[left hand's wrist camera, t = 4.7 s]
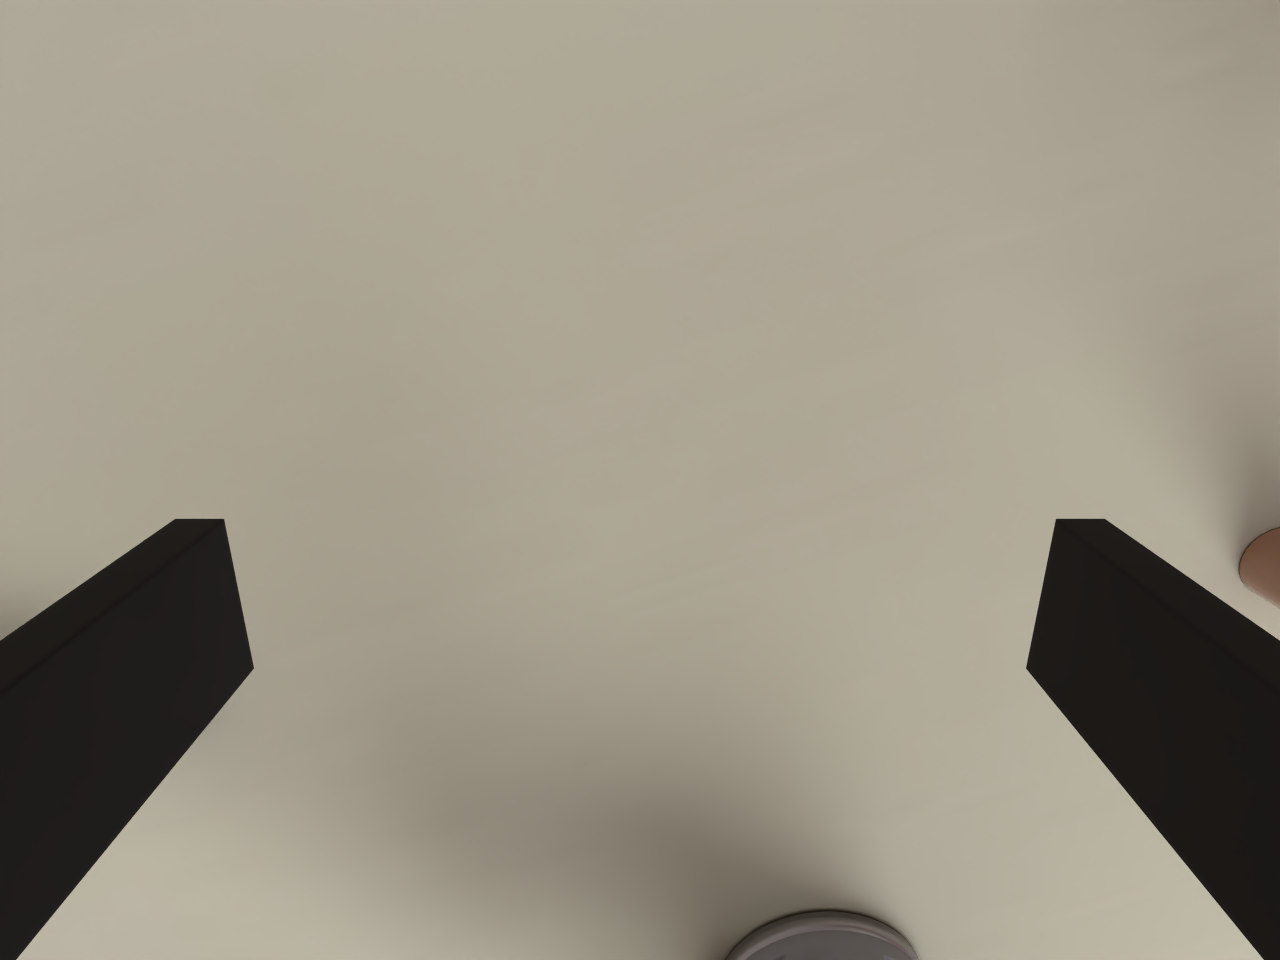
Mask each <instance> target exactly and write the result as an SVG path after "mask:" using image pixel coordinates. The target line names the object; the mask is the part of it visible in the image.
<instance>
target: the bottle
mask: <svg viewBox="0 0 1280 960" xmlns="http://www.w3.org/2000/svg"><path fill="white" fill-rule="evenodd" d="M1239 573H1240V577H1241V580H1242V582H1243V583H1244V585H1245V586H1246V587H1247V588H1248V589H1249V590H1251V591H1252V592H1254V593H1256V594H1257V595H1259V596H1260V597H1262V598H1263V599H1265V600H1266V601H1268V602H1269V603H1271V604H1273V605H1274V606H1276V607H1277V608H1279V609H1280V528H1278V529H1274V530H1271V531H1269V532H1267V533H1265V534H1263V535H1261V536H1260V537H1258V538H1257V539H1256V540H1255V541H1254V542H1252V543H1251V545H1250V546H1249V547H1248V548H1247V549H1246V551H1245V553H1244V554H1243V556H1242V559H1241V562H1240V567H1239Z"/></svg>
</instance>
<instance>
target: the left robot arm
mask: <svg viewBox="0 0 1280 960" xmlns="http://www.w3.org/2000/svg"><path fill="white" fill-rule="evenodd" d="M253 669H254V666H253V661H252V657H251V652H250V647H249V642H248V637H247V632H246V627H245V622H244V617H243V612H242V607H241V602H240V597H239V592H238V587H237V582H236V577H235V572H234V567H233V562H232V557H231V552H230V547H229V542H228V537H227V532H226V527H225V522H224V519H175V520H173V521H172V522H170V523H169V524H167V525H166V526H164V527H163V528H162V529H160V530H159V531H157V532H156V533H154V534H153V535H152V536H150V537H149V538H147V539H146V540H144V541H143V542H141V543H140V544H139V545H137V546H136V547H134V548H133V549H131V550H130V551H129V552H127V553H126V554H124V555H123V556H121V557H120V558H118V559H117V560H116V561H114V562H113V563H111V564H110V565H108V566H107V567H106V568H104V569H103V570H101V571H100V572H98V573H97V574H95V575H94V576H93V577H91V578H90V579H88V580H87V581H85V582H84V583H83V584H81V585H80V586H78V587H77V588H75V589H74V590H73V591H71V592H70V593H68V594H67V595H65V596H64V597H62V598H61V599H60V600H58V601H57V602H55V603H54V604H52V605H51V606H50V607H48V608H47V609H45V610H44V611H42V612H41V613H39V614H38V615H37V616H35V617H34V618H32V619H31V620H29V621H28V622H27V623H25V624H24V625H22V626H21V627H19V628H18V629H16V630H15V631H14V632H12V633H11V634H9V635H8V636H6V637H5V638H4V639H2V640H1V641H0V960H16V959H17V958H18V957H19V955H20V954H21V953H22V952H23V951H24V949H25V948H26V947H27V946H28V944H29V943H30V942H31V941H32V940H33V938H34V937H35V936H36V935H37V933H38V932H39V931H40V930H41V929H42V927H43V926H44V925H45V924H46V922H47V921H48V920H49V919H50V918H51V916H52V915H53V914H54V913H55V911H56V910H57V909H58V908H59V906H60V905H61V904H62V903H63V902H64V900H65V899H66V898H67V897H68V895H69V894H70V893H71V892H72V891H73V889H74V888H75V887H76V886H77V884H78V883H79V882H80V881H81V880H82V878H83V877H84V876H85V875H86V873H87V872H88V871H89V870H90V869H91V867H92V866H93V865H94V864H95V862H96V861H97V860H98V859H99V857H100V856H101V855H102V854H103V853H104V851H105V850H106V849H107V848H108V846H109V845H110V844H111V843H112V842H113V840H114V839H115V838H116V837H117V835H118V834H119V833H120V832H121V831H122V829H123V828H124V827H125V826H126V824H127V823H128V822H129V821H130V820H131V818H132V817H133V816H134V815H135V813H136V812H137V811H138V810H139V809H140V807H141V806H142V805H143V804H144V802H145V801H146V800H147V799H148V797H149V796H150V795H151V794H152V793H153V791H154V790H155V789H156V788H157V786H158V785H159V784H160V783H161V782H162V780H163V779H164V778H165V777H166V775H167V774H168V773H169V772H170V771H171V769H172V768H173V767H174V766H175V764H176V763H177V762H178V761H179V760H180V758H181V757H182V756H183V755H184V753H185V752H186V751H187V750H188V748H189V747H190V746H191V745H192V744H193V742H194V741H195V740H196V739H197V737H198V736H199V735H200V734H201V733H202V731H203V730H204V729H205V728H206V726H207V725H208V724H209V723H210V722H211V720H212V719H213V718H214V717H215V715H216V714H217V713H218V712H219V711H220V709H221V708H222V707H223V706H224V704H225V703H226V702H227V701H228V699H229V698H230V697H231V696H232V695H233V693H234V692H235V691H236V690H237V688H238V687H239V686H240V685H241V684H242V682H243V681H244V680H245V679H246V677H247V676H248V675H249V674H250V673H251V671H252V670H253ZM1026 669H1027V670H1028V671H1029V673H1030V674H1031V675H1032V676H1033V677H1034V679H1035V680H1036V681H1037V682H1038V684H1039V685H1040V686H1041V687H1042V688H1043V690H1044V691H1045V692H1046V693H1047V695H1048V696H1049V697H1050V698H1051V699H1052V701H1053V702H1054V703H1055V704H1056V706H1057V707H1058V708H1059V709H1060V711H1061V712H1062V713H1063V714H1064V715H1065V717H1066V718H1067V719H1068V720H1069V722H1070V723H1071V724H1072V725H1073V726H1074V728H1075V729H1076V730H1077V731H1078V733H1079V734H1080V735H1081V736H1082V737H1083V739H1084V740H1085V741H1086V742H1087V744H1088V745H1089V746H1090V747H1091V748H1092V750H1093V751H1094V752H1095V753H1096V755H1097V756H1098V757H1099V758H1100V760H1101V761H1102V762H1103V763H1104V764H1105V766H1106V767H1107V768H1108V769H1109V771H1110V772H1111V773H1112V774H1113V775H1114V777H1115V778H1116V779H1117V780H1118V782H1119V783H1120V784H1121V785H1122V786H1123V788H1124V789H1125V790H1126V791H1127V793H1128V794H1129V795H1130V796H1131V797H1132V799H1133V800H1134V801H1135V802H1136V804H1137V805H1138V806H1139V807H1140V809H1141V810H1142V811H1143V812H1144V813H1145V815H1146V816H1147V817H1148V818H1149V820H1150V821H1151V822H1152V823H1153V824H1154V826H1155V827H1156V828H1157V829H1158V831H1159V832H1160V833H1161V834H1162V835H1163V837H1164V838H1165V839H1166V840H1167V842H1168V843H1169V844H1170V845H1171V846H1172V848H1173V849H1174V850H1175V851H1176V853H1177V854H1178V855H1179V856H1180V857H1181V859H1182V860H1183V861H1184V862H1185V864H1186V865H1187V866H1188V867H1189V869H1190V870H1191V871H1192V872H1193V873H1194V875H1195V876H1196V877H1197V878H1198V880H1199V881H1200V882H1201V883H1202V884H1203V886H1204V887H1205V888H1206V889H1207V891H1208V892H1209V893H1210V894H1211V895H1212V897H1213V898H1214V899H1215V900H1216V902H1217V903H1218V904H1219V905H1220V906H1221V908H1222V909H1223V910H1224V911H1225V913H1226V914H1227V915H1228V916H1229V918H1230V919H1231V920H1232V921H1233V922H1234V924H1235V925H1236V926H1237V927H1238V929H1239V930H1240V931H1241V932H1242V933H1243V935H1244V936H1245V937H1246V938H1247V940H1248V941H1249V942H1250V943H1251V944H1252V946H1253V947H1254V948H1255V949H1256V951H1257V952H1258V953H1259V954H1260V955H1261V957H1262V958H1263V959H1264V960H1280V641H1279V640H1278V639H1276V638H1275V637H1274V636H1272V635H1271V634H1269V633H1268V632H1266V631H1265V630H1264V629H1262V628H1261V627H1259V626H1258V625H1256V624H1255V623H1253V622H1252V621H1251V620H1249V619H1248V618H1246V617H1245V616H1243V615H1242V614H1241V613H1239V612H1238V611H1236V610H1235V609H1233V608H1232V607H1230V606H1229V605H1228V604H1226V603H1225V602H1223V601H1222V600H1220V599H1219V598H1218V597H1216V596H1215V595H1213V594H1212V593H1210V592H1209V591H1207V590H1206V589H1205V588H1203V587H1202V586H1200V585H1199V584H1197V583H1196V582H1195V581H1193V580H1192V579H1190V578H1189V577H1187V576H1186V575H1185V574H1183V573H1182V572H1180V571H1179V570H1177V569H1176V568H1174V567H1173V566H1172V565H1170V564H1169V563H1167V562H1166V561H1164V560H1163V559H1162V558H1160V557H1159V556H1157V555H1156V554H1154V553H1153V552H1151V551H1150V550H1149V549H1147V548H1146V547H1144V546H1143V545H1141V544H1140V543H1139V542H1137V541H1136V540H1134V539H1133V538H1131V537H1130V536H1128V535H1127V534H1126V533H1124V532H1123V531H1121V530H1120V529H1118V528H1117V527H1116V526H1114V525H1113V524H1111V523H1110V522H1108V521H1107V520H1105V519H1056V522H1055V527H1054V532H1053V537H1052V542H1051V547H1050V552H1049V557H1048V562H1047V567H1046V572H1045V577H1044V582H1043V587H1042V592H1041V597H1040V602H1039V607H1038V612H1037V617H1036V622H1035V627H1034V632H1033V637H1032V642H1031V647H1030V652H1029V656H1028V661H1027V666H1026ZM726 960H919V959H918V957H917V955H916V953H915V951H914V950H913V948H912V947H911V945H910V944H909V943H908V942H907V941H906V940H905V939H904V938H903V937H902V936H901V935H900V934H899V933H897V932H896V931H895V930H893V929H892V928H890V927H888V926H887V925H885V924H883V923H880V922H878V921H876V920H873V919H871V918H868V917H864V916H861V915H856V914H851V913H844V912H828V911H827V912H811V913H804V914H799V915H794V916H790V917H786V918H783V919H780V920H777V921H775V922H773V923H770V924H768V925H766V926H764V927H762V928H760V929H758V930H757V931H755V932H754V933H752V934H750V935H749V936H748V937H746V938H745V939H744V940H743V941H742V942H740V943H739V944H738V945H737V946H736V947H735V948H734V950H733V951H732V952H731V953H730V954H729V956H728V957H727V959H726Z"/></svg>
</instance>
